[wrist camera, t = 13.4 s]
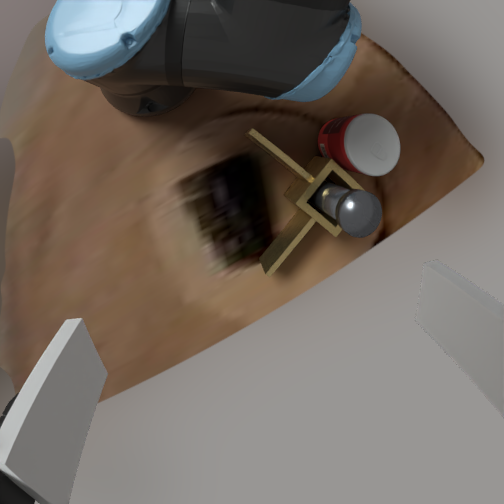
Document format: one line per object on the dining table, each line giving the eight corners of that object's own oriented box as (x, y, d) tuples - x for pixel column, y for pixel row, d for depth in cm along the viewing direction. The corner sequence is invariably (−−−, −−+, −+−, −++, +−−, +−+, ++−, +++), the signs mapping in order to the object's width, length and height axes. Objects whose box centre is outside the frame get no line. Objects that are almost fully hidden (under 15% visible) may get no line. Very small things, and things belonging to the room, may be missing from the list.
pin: (293, 193, 44) (331, 218, 30) (314, 168, 43) (360, 181, 29) (317, 213, 46) (361, 246, 31) (337, 189, 45) (389, 211, 30)
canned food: (351, 176, 44) (388, 186, 34) (307, 154, 42) (336, 158, 32) (369, 133, 42) (409, 134, 32) (326, 110, 40) (359, 101, 30)
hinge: (188, 208, 43) (183, 220, 36) (262, 113, 39) (270, 107, 33) (279, 272, 48) (289, 292, 42) (348, 187, 45) (369, 195, 38)
